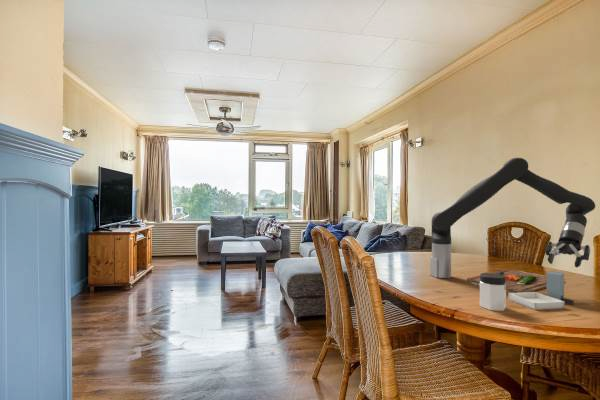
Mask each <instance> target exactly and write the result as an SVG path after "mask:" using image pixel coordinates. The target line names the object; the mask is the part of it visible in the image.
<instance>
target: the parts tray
mask: <svg viewBox="0 0 600 400" xmlns="http://www.w3.org/2000/svg"><path fill="white" fill-rule="evenodd" d="M507 294H508V295H507V300H509V301H511V302H513V303H515V304H518V305H520V306H524V307H526V308H529V309H531V310H534V311H543V310H558V309H559V310H560V309H565V308H566V307H565V305H566V303H565V302H564V301H561V300H558V299H555V298H552V297H549V296H546V295H547V294H546V295H543V294H544V293H541V294H540V292H537V291H533V292H522V293H515V292H507Z"/></svg>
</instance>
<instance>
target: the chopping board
mask: <svg viewBox="0 0 600 400" xmlns="http://www.w3.org/2000/svg"><path fill="white" fill-rule="evenodd" d="M493 273H495V274H500V275H503V276H505V277H506V293H508V292H510V293H515V292H516V293H522V292H537V291H540V290H543V289H547V275H543V274H539V273H538V274H537V273H531V272H525V271H520V270H512V269H504V270H499V271H494V272H493ZM466 281H467V282H470V283H471V284H472V285H476V286H480V275H479V274H478V275H475V276H470V277H468V278H466Z"/></svg>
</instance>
